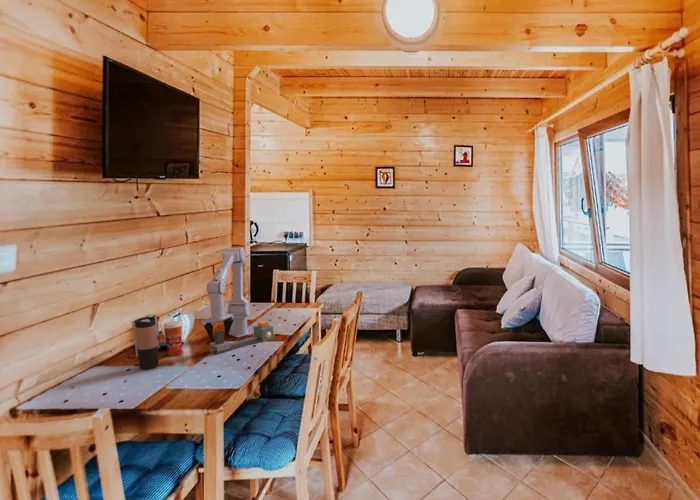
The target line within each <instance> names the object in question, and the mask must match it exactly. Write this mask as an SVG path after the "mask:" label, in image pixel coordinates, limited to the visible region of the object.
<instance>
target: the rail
mask: <svg viewBox="0 0 700 500" xmlns="http://www.w3.org/2000/svg"><path fill="white" fill-rule="evenodd" d="M260 342H261V341H260V340H258V337H257V336H254V335H253V336H250V337H247V338H244V339H241V340H237V341H233V342H229V343H230V349H226V350H223V351H219V352H217V349H216V348H211V349H208V353H210V354H213V355H215V356H217V355H219V354H220V355H221V354H223V353H227V352H230V351H233V350H237V349H240V348H243V347H246V346H250V345H255V344H257V343H260Z"/></svg>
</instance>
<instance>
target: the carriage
mask: <svg viewBox="0 0 700 500" xmlns="http://www.w3.org/2000/svg"><path fill="white" fill-rule="evenodd" d="M213 336H214V342H210V343H209V350H211V348H216V349H217V352H219V351H223V350H226V349H230V343H231V342H228V341H226V340H225V331H222V330H219V331H218V330H217V331H215V332H214V331H213Z"/></svg>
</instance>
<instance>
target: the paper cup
mask: <svg viewBox="0 0 700 500" xmlns="http://www.w3.org/2000/svg"><path fill="white" fill-rule="evenodd" d="M182 326H183V323H182V322H181V321H180V320H171V321H170V320H169V321H167V322H164V324H163V326H162V327H163V329H164V335H165V342H166V349H167V354H168V356H170V357H171V356H172V357H173V356H178V355H181V354H182V352H183V349H182V348H183V347H182V346H183V345H182V343H183V342H182V340H183V339H182Z"/></svg>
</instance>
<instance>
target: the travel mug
mask: <svg viewBox="0 0 700 500" xmlns="http://www.w3.org/2000/svg"><path fill="white" fill-rule="evenodd" d="M134 321H135V328H136V341H137V351H138V357H137V359H138V365H139V366H138V367H139V369H140V371H150V369H151V370H154V369H156V367H157V368H159V365H160V364H159V360H160V359H159V350H158V342H157V332H156V322H155V318H154V317H145V318H142V317H140V319H139V318H137V319H135V320H134Z"/></svg>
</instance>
